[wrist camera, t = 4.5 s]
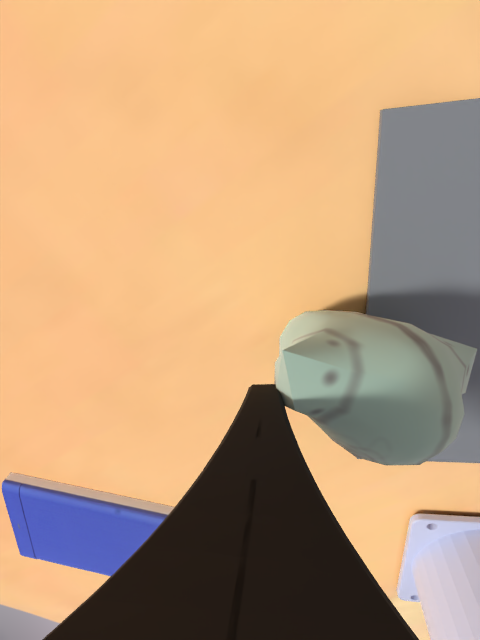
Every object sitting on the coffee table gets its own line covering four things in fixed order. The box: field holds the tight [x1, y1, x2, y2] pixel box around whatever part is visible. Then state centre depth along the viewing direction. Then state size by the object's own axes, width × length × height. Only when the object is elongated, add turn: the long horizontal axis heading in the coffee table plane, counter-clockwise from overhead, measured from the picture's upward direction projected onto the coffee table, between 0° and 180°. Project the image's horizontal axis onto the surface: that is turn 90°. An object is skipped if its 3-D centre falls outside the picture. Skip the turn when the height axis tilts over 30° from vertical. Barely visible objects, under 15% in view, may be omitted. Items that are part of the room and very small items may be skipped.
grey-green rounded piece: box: [275, 310, 477, 465], centre depth 12 cm, size 8×4×7 cm
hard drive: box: [2, 472, 175, 576], centre depth 24 cm, size 2×8×12 cm
